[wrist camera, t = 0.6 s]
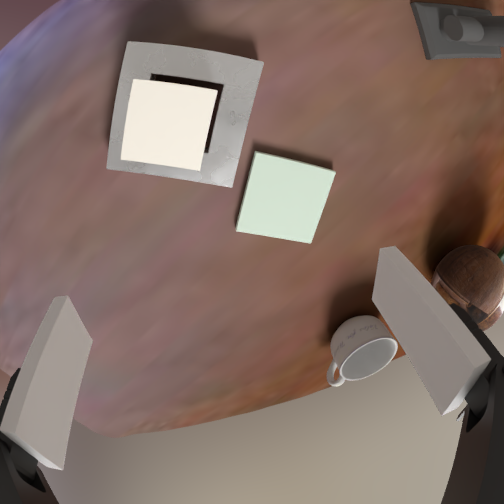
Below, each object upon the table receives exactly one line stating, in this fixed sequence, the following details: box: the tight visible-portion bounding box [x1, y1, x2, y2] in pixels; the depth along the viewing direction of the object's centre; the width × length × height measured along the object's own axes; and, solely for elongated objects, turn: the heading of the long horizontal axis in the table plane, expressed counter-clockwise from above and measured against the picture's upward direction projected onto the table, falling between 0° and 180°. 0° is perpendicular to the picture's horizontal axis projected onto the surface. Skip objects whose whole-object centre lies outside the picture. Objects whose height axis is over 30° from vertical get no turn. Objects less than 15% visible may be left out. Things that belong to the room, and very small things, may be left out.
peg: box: [121, 79, 218, 171], centre depth 25 cm, size 6×6×13 cm
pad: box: [236, 151, 336, 243], centre depth 37 cm, size 10×10×1 cm
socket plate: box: [107, 41, 264, 188], centre depth 29 cm, size 14×14×3 cm
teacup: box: [327, 315, 398, 386], centre depth 49 cm, size 14×11×8 cm
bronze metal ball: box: [431, 245, 504, 331], centre depth 41 cm, size 15×15×15 cm
